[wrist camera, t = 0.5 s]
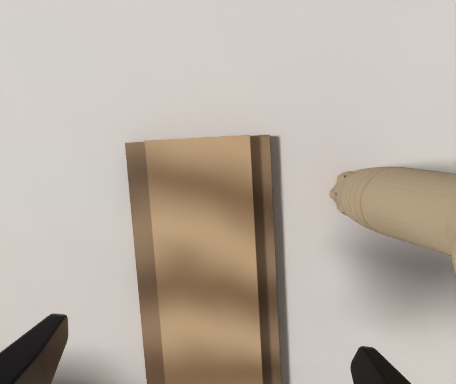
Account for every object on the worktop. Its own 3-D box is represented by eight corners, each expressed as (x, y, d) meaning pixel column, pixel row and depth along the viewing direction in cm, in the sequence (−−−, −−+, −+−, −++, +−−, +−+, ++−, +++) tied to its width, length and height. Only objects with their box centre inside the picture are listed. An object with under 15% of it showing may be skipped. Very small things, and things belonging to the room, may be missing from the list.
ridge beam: (280, 415, 25) (285, 432, 23) (153, 428, 24) (149, 446, 23) (267, 135, 23) (271, 133, 21) (128, 143, 22) (121, 142, 20)
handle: (400, 196, 24) (727, 256, 9) (328, 241, 24) (530, 376, 9) (371, 141, 23) (664, 104, 8) (297, 187, 23) (455, 232, 8)
